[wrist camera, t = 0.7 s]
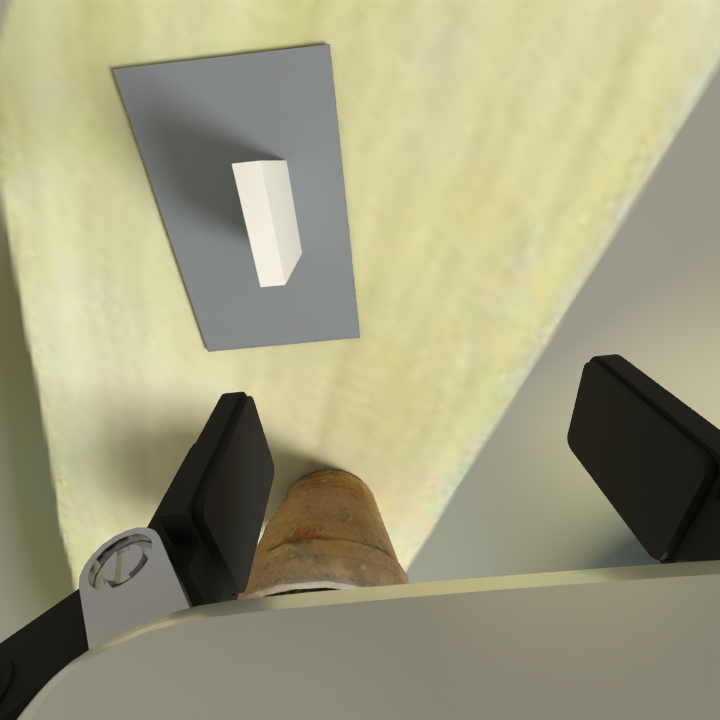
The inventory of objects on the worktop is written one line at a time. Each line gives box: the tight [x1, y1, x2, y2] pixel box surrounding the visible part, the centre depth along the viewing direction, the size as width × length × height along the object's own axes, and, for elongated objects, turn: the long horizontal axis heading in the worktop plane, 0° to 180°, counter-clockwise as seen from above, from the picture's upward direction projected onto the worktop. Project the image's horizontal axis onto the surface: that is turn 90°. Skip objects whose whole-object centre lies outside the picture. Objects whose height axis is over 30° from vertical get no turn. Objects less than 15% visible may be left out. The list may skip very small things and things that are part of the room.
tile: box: [232, 160, 302, 287], centre depth 25 cm, size 7×2×9 cm, turn 5°
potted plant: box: [237, 469, 410, 600], centre depth 36 cm, size 18×19×25 cm
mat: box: [112, 44, 360, 352], centre depth 30 cm, size 22×15×1 cm
